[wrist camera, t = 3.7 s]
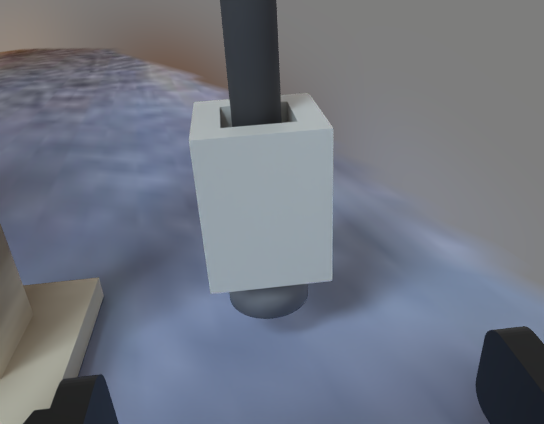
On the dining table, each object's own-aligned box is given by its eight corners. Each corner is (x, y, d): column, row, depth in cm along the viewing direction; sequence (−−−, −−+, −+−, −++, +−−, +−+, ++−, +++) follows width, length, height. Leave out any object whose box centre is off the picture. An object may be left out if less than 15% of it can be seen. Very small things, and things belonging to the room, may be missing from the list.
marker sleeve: (210, 294, 18) (188, 140, 15) (211, 232, 22) (194, 102, 19) (332, 280, 18) (333, 128, 15) (310, 222, 22) (308, 92, 19)
